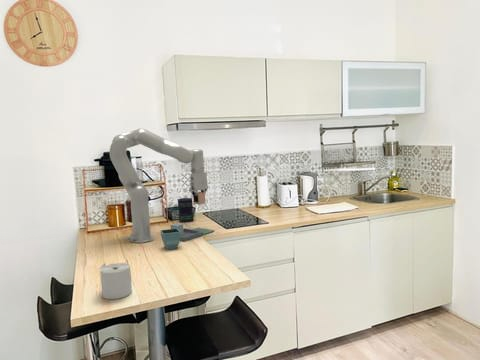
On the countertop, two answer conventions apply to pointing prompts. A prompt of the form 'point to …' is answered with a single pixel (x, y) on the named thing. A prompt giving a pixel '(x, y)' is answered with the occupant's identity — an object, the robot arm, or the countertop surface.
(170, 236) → the flower pot
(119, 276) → the toilet tissue
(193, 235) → the parts tray
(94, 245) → the countertop surface
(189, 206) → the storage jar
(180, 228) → the plain box
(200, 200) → the labelled box
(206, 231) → the mat
